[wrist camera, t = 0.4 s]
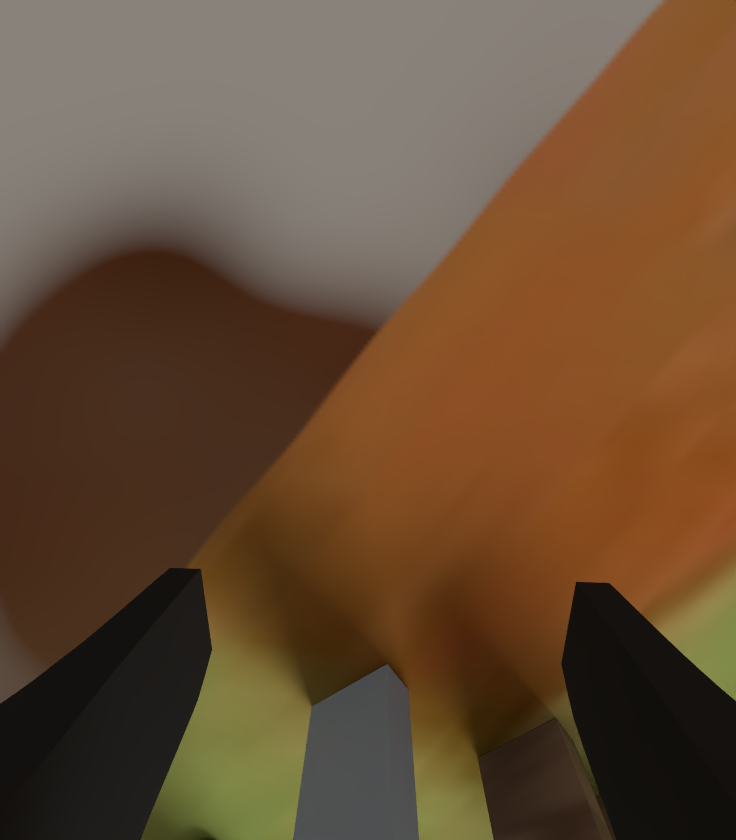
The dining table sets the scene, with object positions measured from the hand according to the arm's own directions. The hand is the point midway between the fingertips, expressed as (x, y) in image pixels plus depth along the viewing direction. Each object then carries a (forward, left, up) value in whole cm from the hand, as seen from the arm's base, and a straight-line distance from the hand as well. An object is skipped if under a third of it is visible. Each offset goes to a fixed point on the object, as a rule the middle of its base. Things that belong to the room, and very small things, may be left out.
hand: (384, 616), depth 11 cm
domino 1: (-8, -9, -11) cm, 16 cm away
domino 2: (-3, -16, -11) cm, 19 cm away
